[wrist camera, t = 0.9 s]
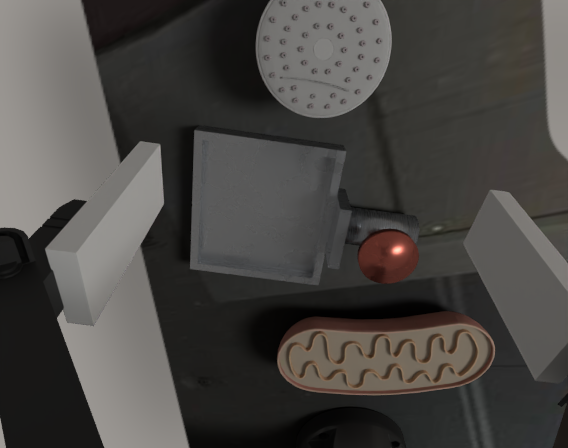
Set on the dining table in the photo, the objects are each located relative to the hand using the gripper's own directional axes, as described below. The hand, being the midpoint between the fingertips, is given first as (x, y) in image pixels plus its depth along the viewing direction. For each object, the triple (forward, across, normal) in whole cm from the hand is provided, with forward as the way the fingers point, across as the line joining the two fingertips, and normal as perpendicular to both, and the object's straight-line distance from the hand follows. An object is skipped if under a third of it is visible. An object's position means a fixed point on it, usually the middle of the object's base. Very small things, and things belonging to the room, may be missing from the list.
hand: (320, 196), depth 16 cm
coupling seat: (+19, -1, +13) cm, 24 cm away
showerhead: (+22, 0, -2) cm, 22 cm away
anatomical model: (+17, -12, +27) cm, 35 cm away
